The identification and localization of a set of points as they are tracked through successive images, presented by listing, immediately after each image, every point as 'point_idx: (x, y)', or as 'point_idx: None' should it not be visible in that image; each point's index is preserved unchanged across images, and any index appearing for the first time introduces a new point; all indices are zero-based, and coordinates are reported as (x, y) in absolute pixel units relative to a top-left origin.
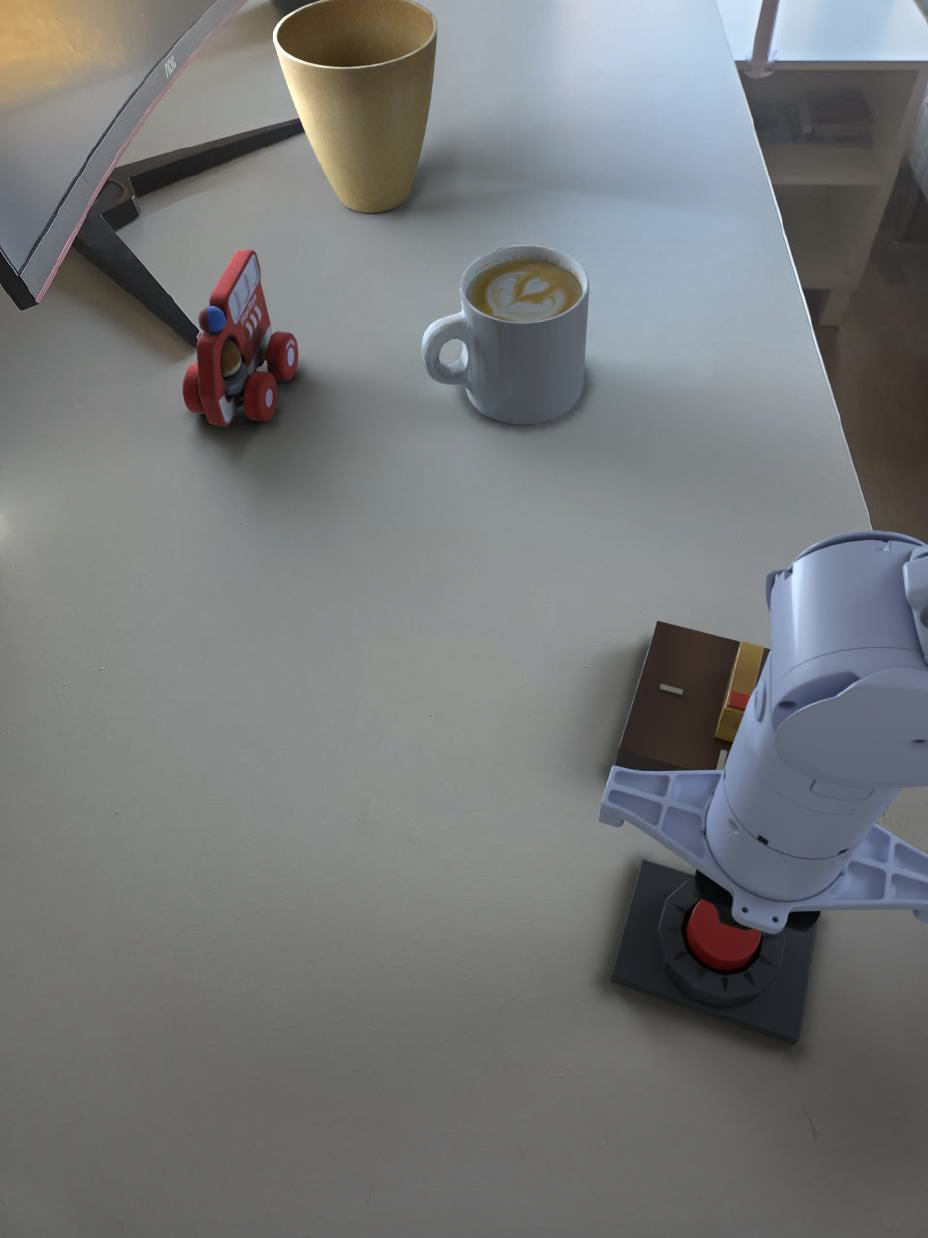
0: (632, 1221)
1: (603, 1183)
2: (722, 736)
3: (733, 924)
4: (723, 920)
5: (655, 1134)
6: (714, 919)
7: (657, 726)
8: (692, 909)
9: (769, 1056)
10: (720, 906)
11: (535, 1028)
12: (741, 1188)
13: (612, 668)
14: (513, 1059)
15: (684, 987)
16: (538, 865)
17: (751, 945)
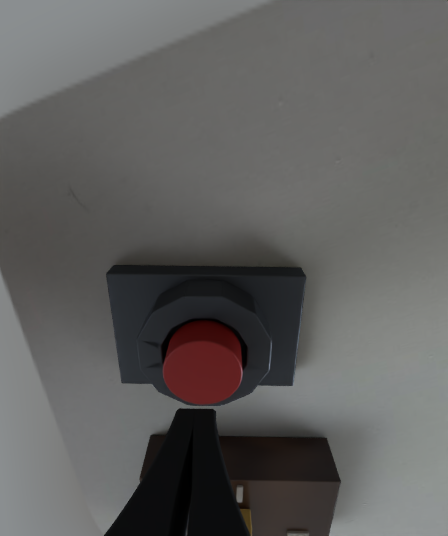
0: (230, 26)
1: (271, 58)
2: (244, 516)
3: (195, 429)
4: (210, 434)
5: (225, 134)
6: (216, 377)
7: (305, 505)
8: None
9: (133, 248)
10: (227, 528)
11: (372, 198)
12: (124, 111)
13: (340, 506)
14: (394, 158)
15: (230, 291)
16: (388, 348)
17: (170, 364)
